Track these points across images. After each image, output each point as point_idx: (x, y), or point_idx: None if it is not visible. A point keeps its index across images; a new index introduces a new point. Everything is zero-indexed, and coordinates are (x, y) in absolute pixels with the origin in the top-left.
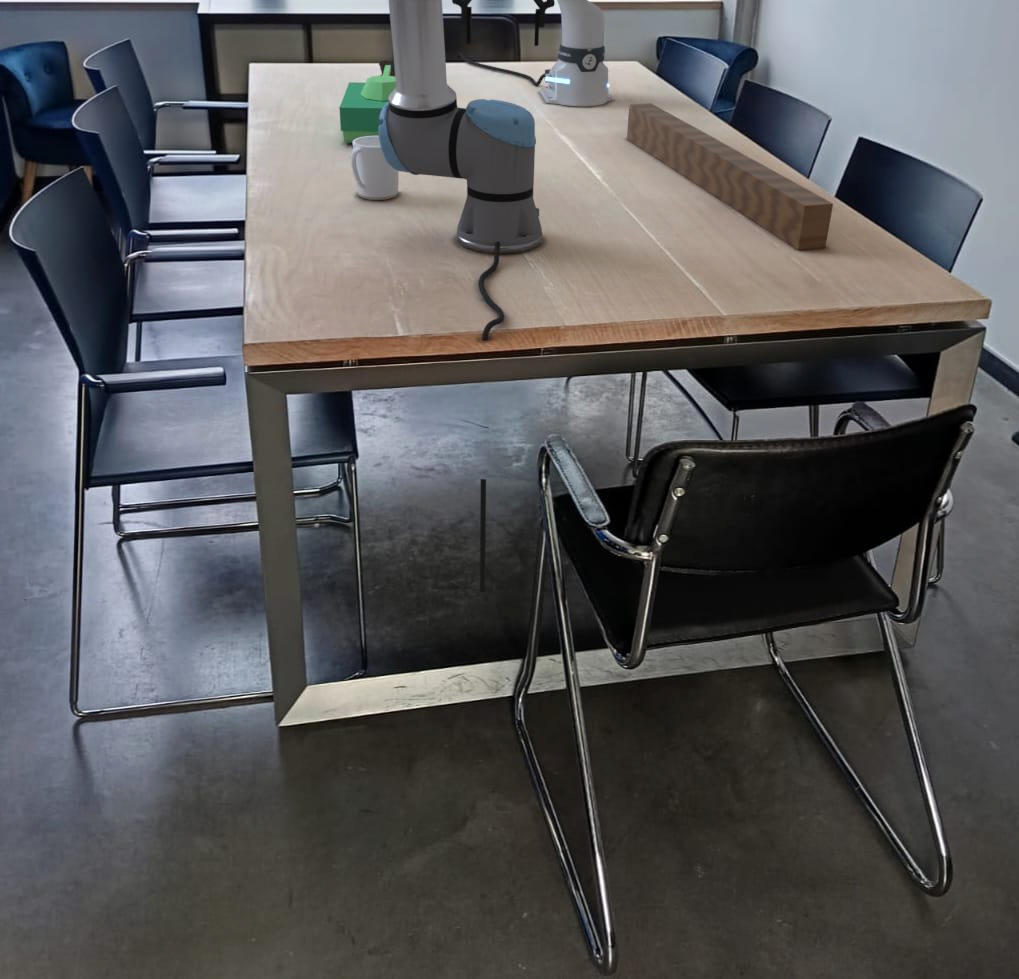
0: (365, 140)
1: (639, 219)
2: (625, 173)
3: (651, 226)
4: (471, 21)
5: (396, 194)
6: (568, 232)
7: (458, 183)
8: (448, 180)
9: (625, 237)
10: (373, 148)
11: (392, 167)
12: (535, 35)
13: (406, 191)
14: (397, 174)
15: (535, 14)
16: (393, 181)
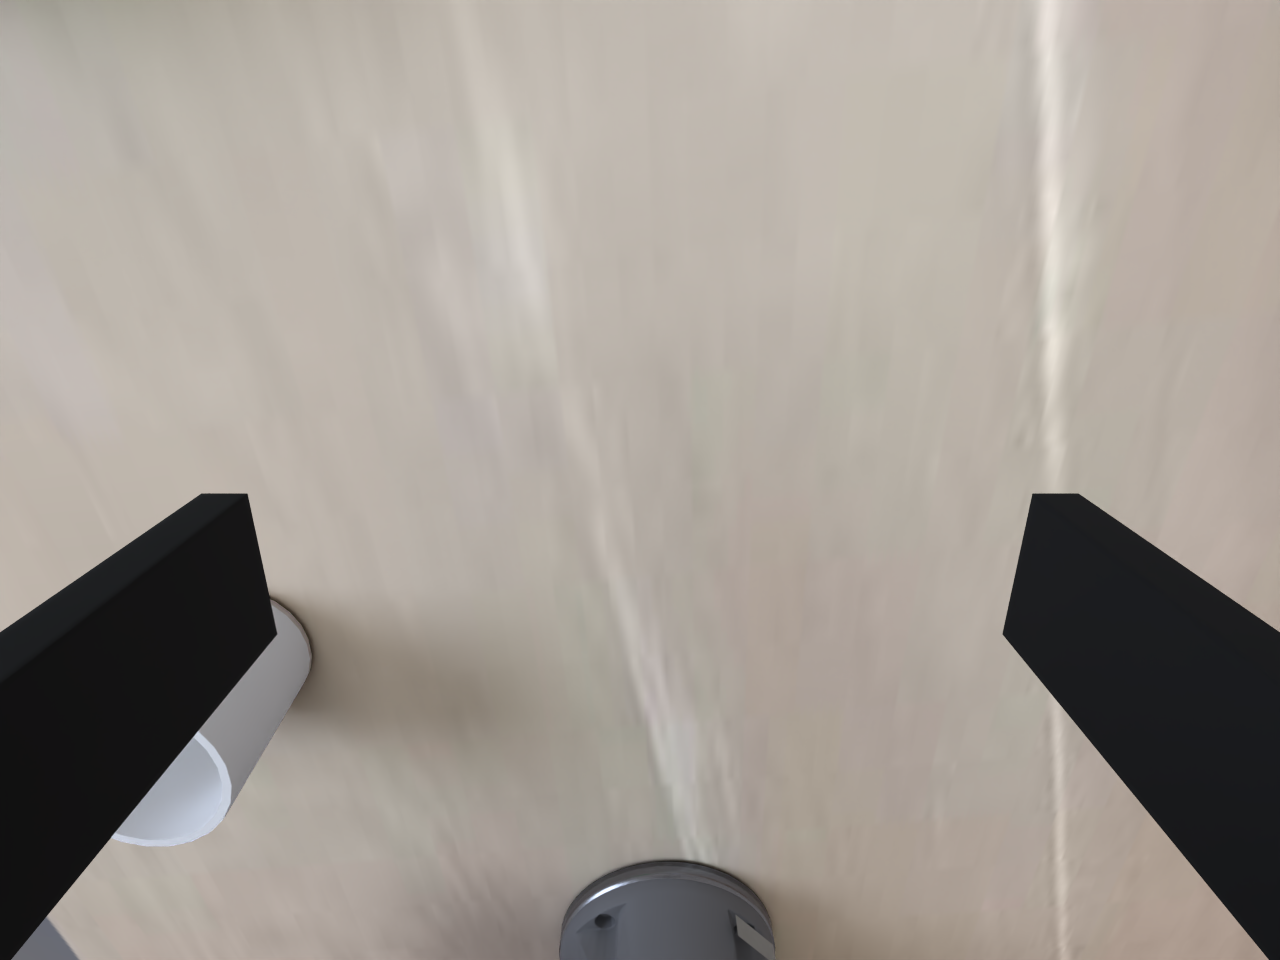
0: None
1: (1069, 777)
2: (1191, 275)
3: (1085, 823)
4: (83, 621)
5: (310, 664)
6: (845, 876)
7: (489, 490)
8: (444, 456)
9: (989, 895)
10: (164, 843)
11: (262, 752)
12: (1070, 704)
13: (327, 597)
14: (284, 702)
15: (1263, 949)
16: (286, 711)
